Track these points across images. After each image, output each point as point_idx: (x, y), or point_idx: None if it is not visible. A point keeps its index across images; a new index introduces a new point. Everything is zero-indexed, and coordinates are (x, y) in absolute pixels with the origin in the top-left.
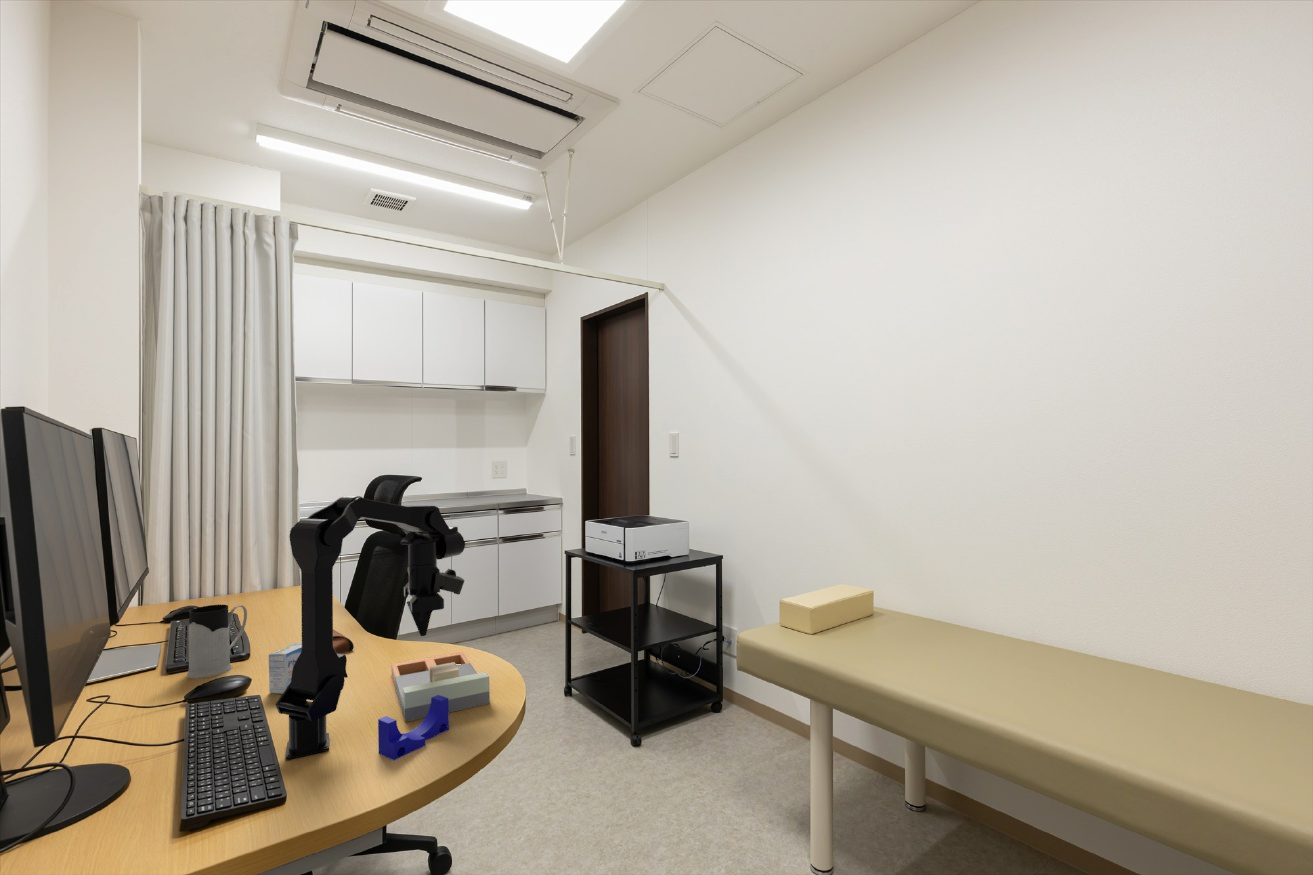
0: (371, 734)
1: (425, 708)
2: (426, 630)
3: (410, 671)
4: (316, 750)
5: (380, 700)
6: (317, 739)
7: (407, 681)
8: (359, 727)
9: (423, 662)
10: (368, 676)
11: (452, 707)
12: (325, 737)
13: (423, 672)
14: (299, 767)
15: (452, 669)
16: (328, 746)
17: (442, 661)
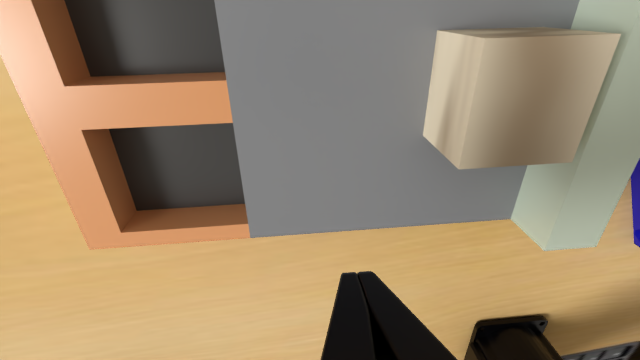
0: (533, 257)
1: None
2: (398, 300)
3: (120, 171)
4: (542, 333)
5: (335, 246)
6: (555, 350)
7: (325, 203)
8: (476, 278)
9: (86, 133)
10: (104, 280)
11: None
12: (529, 335)
13: (250, 146)
14: (565, 340)
15: (589, 68)
16: (542, 320)
17: (59, 35)
